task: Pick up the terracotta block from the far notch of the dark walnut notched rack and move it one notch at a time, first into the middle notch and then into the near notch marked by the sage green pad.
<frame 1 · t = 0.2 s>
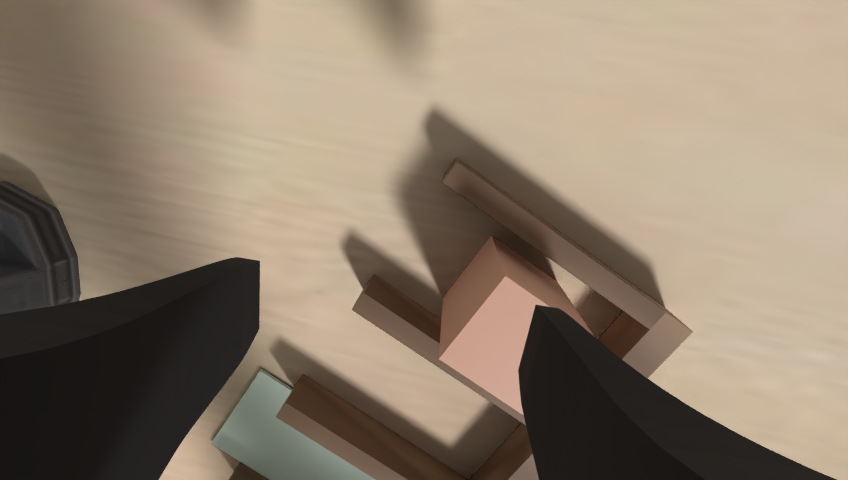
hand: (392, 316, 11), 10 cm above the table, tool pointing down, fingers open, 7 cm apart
notched rack: (418, 390, 23), on the table
terracotta block: (499, 289, 22), resting in notched rack
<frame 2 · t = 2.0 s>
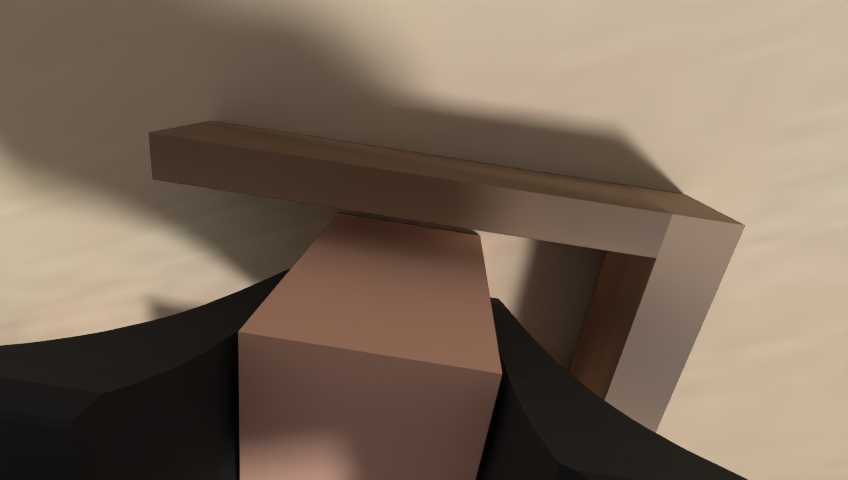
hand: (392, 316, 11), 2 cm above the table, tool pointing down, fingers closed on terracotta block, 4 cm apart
notched rack: (375, 464, 15), on the table
terracotta block: (399, 288, 13), resting in notched rack, touching gripper
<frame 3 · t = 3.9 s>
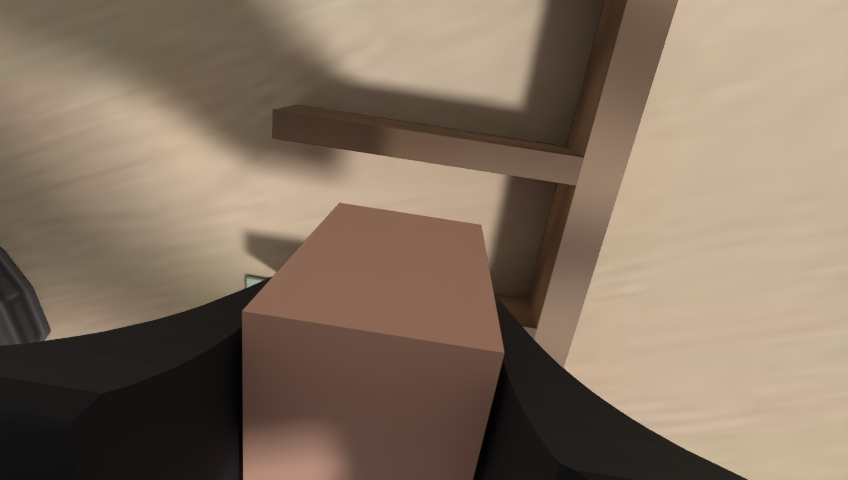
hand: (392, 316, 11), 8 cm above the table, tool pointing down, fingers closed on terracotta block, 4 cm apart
notched rack: (417, 219, 19), on the table
terracotta block: (401, 278, 13), point 6 cm above the table, touching gripper
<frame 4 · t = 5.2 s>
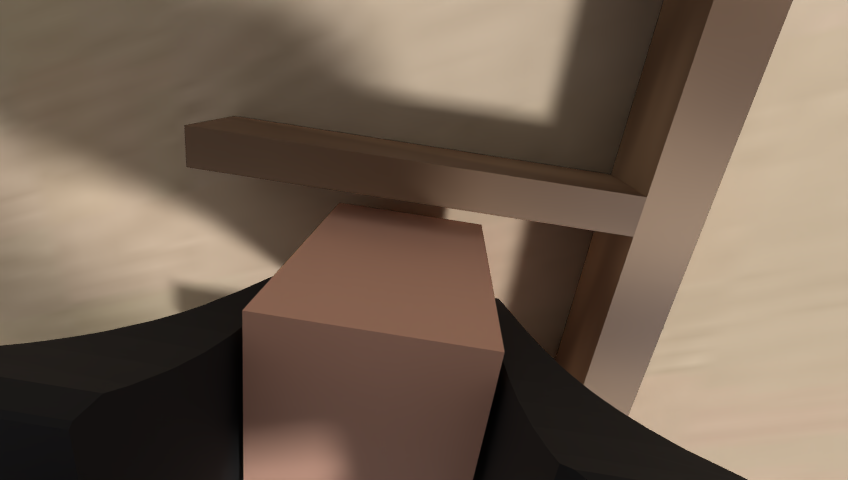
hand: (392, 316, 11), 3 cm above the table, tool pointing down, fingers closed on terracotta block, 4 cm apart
notched rack: (404, 269, 14), on the table
terracotta block: (401, 277, 13), point 1 cm above the table, touching gripper
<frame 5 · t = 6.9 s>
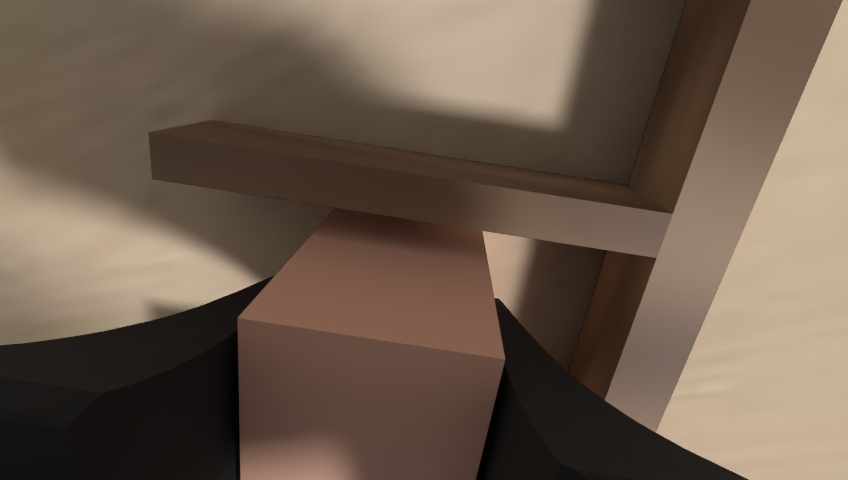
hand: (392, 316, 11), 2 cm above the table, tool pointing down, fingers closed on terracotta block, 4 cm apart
notched rack: (399, 288, 13), on the table
terracotta block: (401, 280, 13), resting in notched rack, touching gripper
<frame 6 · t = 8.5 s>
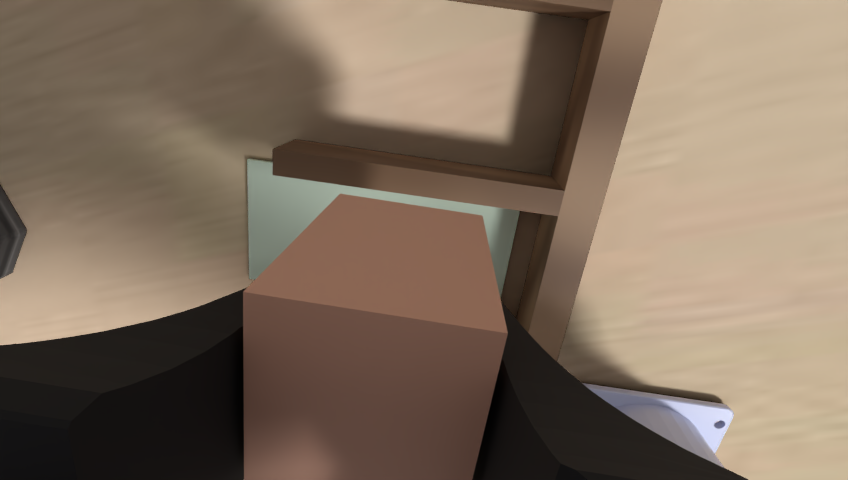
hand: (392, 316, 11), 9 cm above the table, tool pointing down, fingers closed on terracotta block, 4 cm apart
notched rack: (432, 83, 18), on the table
terracotta block: (402, 269, 13), point 7 cm above the table, touching gripper
when the fingers open (3 cm above the table, at t = 10.2 s): terracotta block stays where it is, resting on notched rack.
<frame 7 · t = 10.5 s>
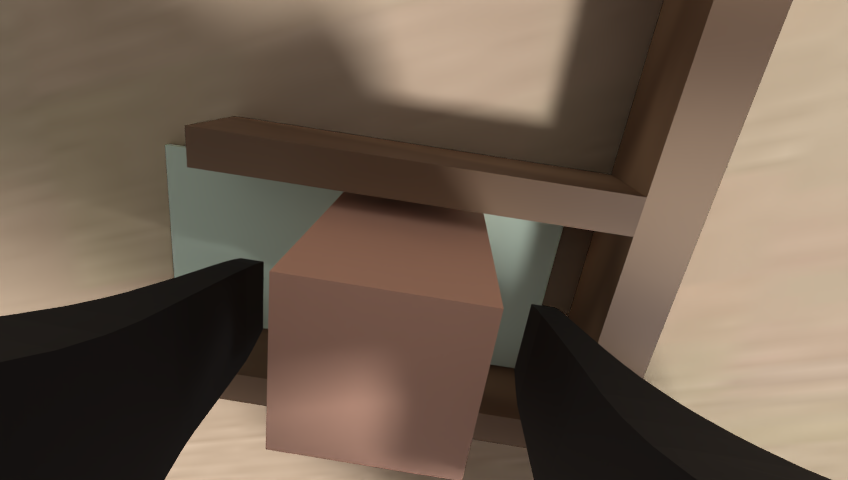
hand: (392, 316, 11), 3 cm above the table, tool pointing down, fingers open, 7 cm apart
notched rack: (437, 31, 12), on the table
terracotta block: (406, 258, 14), resting on notched rack
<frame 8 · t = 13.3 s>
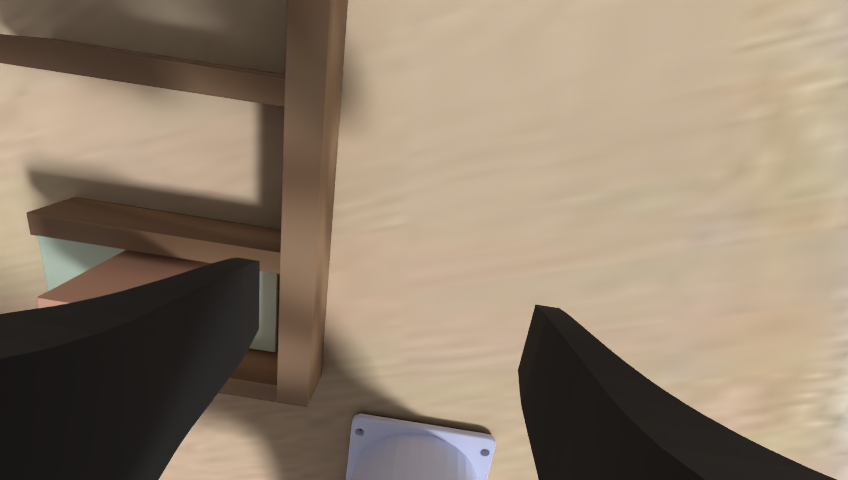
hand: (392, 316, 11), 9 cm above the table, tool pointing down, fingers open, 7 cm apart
notched rack: (183, 152, 20), on the table
terracotta block: (188, 282, 22), resting on notched rack
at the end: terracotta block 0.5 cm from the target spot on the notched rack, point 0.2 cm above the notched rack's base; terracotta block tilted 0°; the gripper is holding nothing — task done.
